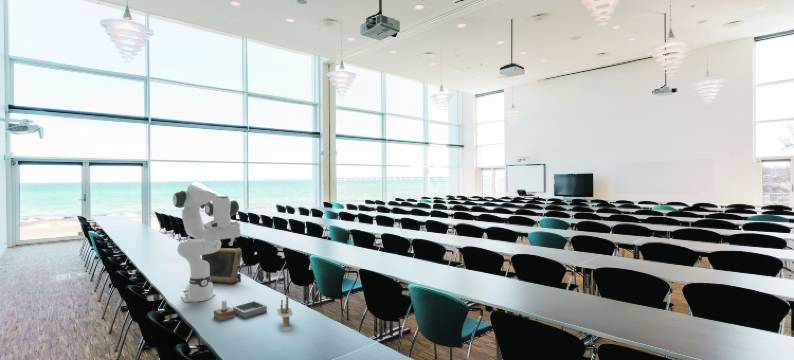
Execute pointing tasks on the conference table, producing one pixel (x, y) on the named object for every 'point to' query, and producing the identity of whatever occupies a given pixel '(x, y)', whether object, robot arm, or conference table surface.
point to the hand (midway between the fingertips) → (222, 246)
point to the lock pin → (224, 306)
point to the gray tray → (250, 309)
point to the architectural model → (285, 313)
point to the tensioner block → (224, 314)
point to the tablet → (224, 265)
